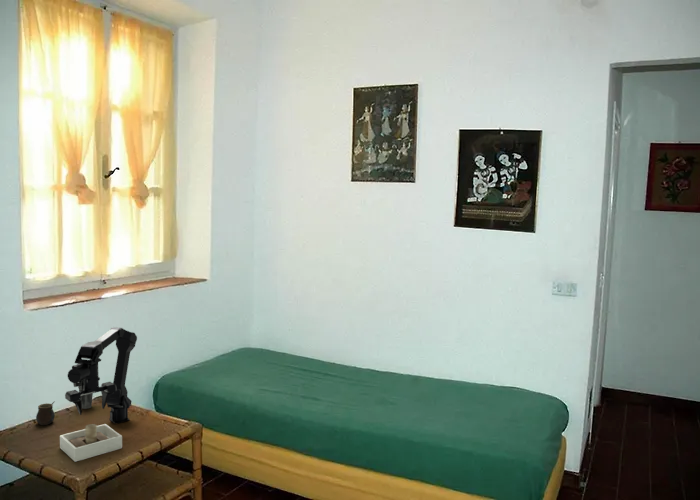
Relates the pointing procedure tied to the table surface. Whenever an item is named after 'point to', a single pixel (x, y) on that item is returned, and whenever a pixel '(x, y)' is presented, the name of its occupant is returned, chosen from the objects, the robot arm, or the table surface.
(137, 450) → the table surface
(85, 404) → the beverage cup
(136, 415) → the table surface
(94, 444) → the open box
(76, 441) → the bore plate
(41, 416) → the mate gourd
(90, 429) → the peg
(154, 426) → the table surface
